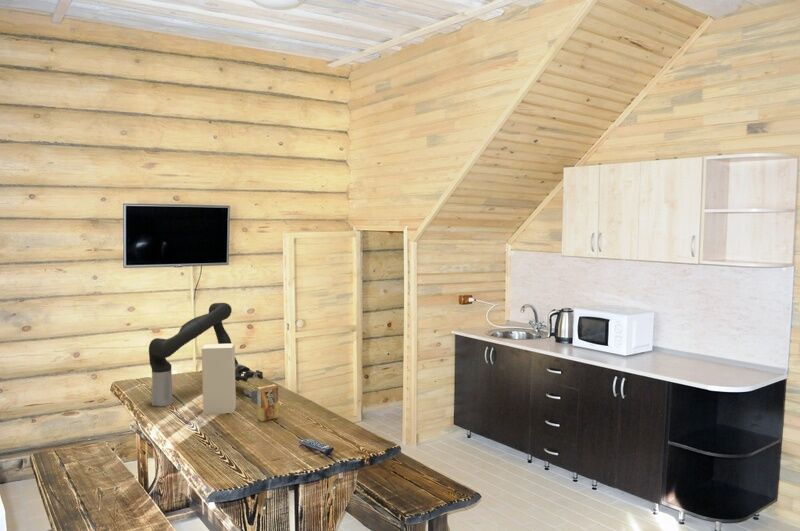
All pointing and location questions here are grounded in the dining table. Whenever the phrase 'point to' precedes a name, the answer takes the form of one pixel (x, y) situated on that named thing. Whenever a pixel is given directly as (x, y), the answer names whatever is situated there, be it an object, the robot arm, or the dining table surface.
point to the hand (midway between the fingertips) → (254, 378)
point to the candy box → (267, 402)
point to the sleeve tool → (251, 395)
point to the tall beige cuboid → (218, 378)
